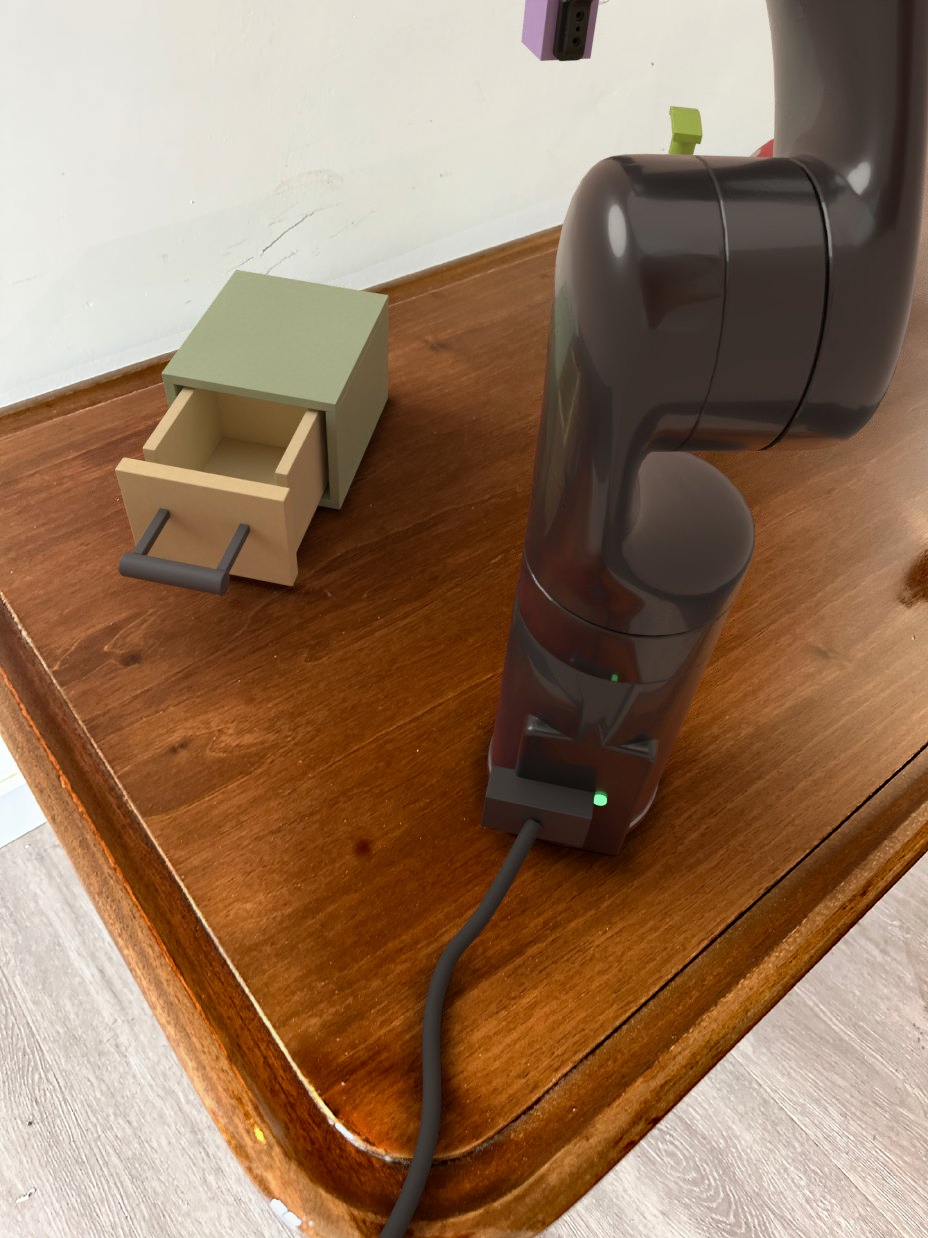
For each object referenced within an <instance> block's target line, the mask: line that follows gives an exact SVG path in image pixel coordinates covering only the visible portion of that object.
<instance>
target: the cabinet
mask: <svg viewBox="0 0 928 1238" xmlns="http://www.w3.org/2000/svg"><path fill="white" fill-rule="evenodd" d="M389 301H390V297H389V294H382V293H377V292H371V291H366V290H360V289H353V288H348V287H341V286H335V285H330V284H325V283H324V284H323V283H318V282H312V281H305V280H300V279H294V278H288V277H283V276H276V275H270V274H265V273H258V272H252V271H246V270H241V269H235V270H234V271H233V273H232V275H231V276H230V277H229V278H228V280H227V281H226V283H225V284H224V286H223V287H222V288H221V290H220V291H219V292H218V294H217V295H216V297H215V298H214V299H213V301H212V302H211V304H210V305H209V306H208V307H207V309H206V311H204V313H203V315H202V316H201V318H200V319H199V321H198V322H197V323H196V324H195V326H194V327H193V328H192V330H191V331H190V333H189V334H188V336H187V337H186V338H185V340H184V341H183V343H182V344H181V345H180V346H179V348H178V350H177V351H176V352H175V353H174V355H173V356H172V358H171V359H170V361H169V362H168V363H167V365H166V366H165V368H164V369H163V370H162V371H161V378H162V382H163V386H164V391H165V396H166V401H167V406H168V409H169V408H170V407H171V405H172V404H173V402H174V401H175V399H176V398H177V397H178V395H179V394H180V392H181V391H182V389H183V388H184V386H188V387H193V388H199V389H204V390H210V391H216V392H221V393H227V394H232V395H238V396H244V397H249V398H255V399H260V400H266V401H271V402H277V403H283V404H288V405H294V406H299V407H305V408H311V409H316V410H322V411H326V428H327V447H328V466H329V482H328V484H327V486H326V488H325V490H324V493H323V495H322V497H321V499H320V501H319V504H318V506H317V507H323V508H329V509H334V510H341V509H342V506H343V504H344V501H345V499H346V498H347V497H346V496H347V494H348V492H349V490H350V487H351V485H352V482H353V480H354V478H355V475H356V473H357V471H358V469H359V467H360V464H361V462H362V460H363V457H364V455H365V452H366V450H367V448H368V446H369V443H370V441H371V439H372V436H373V435H374V432H375V429H376V427H377V424H378V422H379V420H380V418H381V416H382V413H383V411H384V408H385V407H386V404H387V401H388V399H389V392H388V391H389V304H390V302H389Z"/></svg>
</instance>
